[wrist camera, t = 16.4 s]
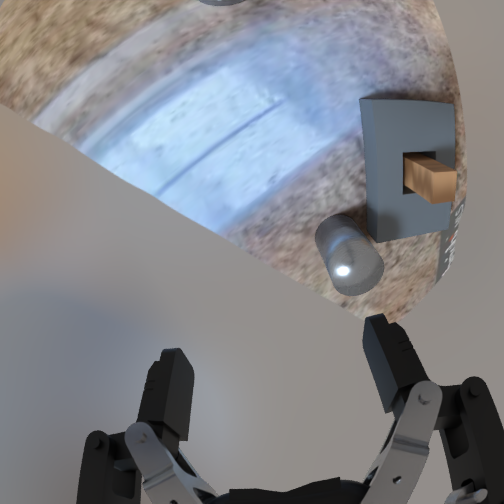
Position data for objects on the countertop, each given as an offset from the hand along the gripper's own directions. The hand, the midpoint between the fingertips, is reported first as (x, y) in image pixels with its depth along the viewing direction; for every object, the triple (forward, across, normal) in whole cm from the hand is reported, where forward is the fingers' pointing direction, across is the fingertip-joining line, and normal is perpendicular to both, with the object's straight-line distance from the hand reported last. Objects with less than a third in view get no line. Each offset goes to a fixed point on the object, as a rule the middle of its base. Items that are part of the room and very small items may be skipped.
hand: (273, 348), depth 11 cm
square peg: (+28, -23, +2) cm, 36 cm away
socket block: (+28, -23, +2) cm, 36 cm away
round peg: (+28, -11, +12) cm, 32 cm away
